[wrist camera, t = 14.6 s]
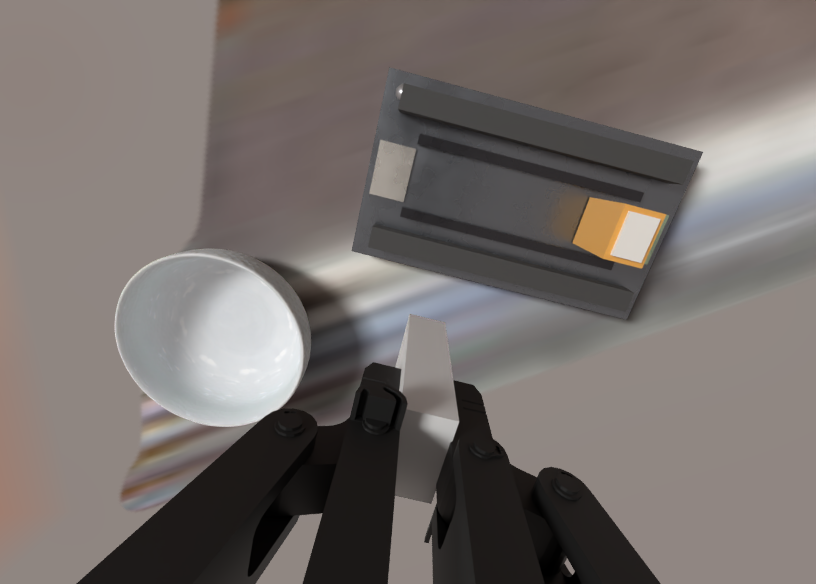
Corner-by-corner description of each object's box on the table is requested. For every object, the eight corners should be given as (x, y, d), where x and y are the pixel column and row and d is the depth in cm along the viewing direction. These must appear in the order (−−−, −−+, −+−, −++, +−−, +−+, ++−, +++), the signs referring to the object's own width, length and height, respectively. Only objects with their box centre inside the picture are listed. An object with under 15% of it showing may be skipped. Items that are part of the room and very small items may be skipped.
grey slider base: (392, 75, 33) (388, 65, 30) (679, 153, 34) (708, 151, 31) (357, 244, 38) (350, 252, 34) (611, 308, 39) (629, 322, 35)
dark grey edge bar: (374, 223, 34) (372, 226, 32) (624, 286, 35) (634, 292, 33) (370, 243, 35) (367, 247, 33) (615, 304, 36) (625, 311, 34)
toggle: (590, 197, 33) (627, 204, 27) (624, 206, 33) (668, 214, 27) (572, 243, 34) (604, 259, 28) (605, 251, 34) (644, 269, 28)
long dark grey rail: (404, 87, 31) (403, 83, 29) (679, 161, 32) (693, 161, 30) (399, 111, 31) (398, 108, 30) (669, 183, 32) (683, 184, 31)
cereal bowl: (337, 262, 39) (319, 282, 32) (310, 402, 44) (289, 445, 37) (166, 219, 38) (111, 230, 31) (158, 367, 43) (109, 404, 36)
